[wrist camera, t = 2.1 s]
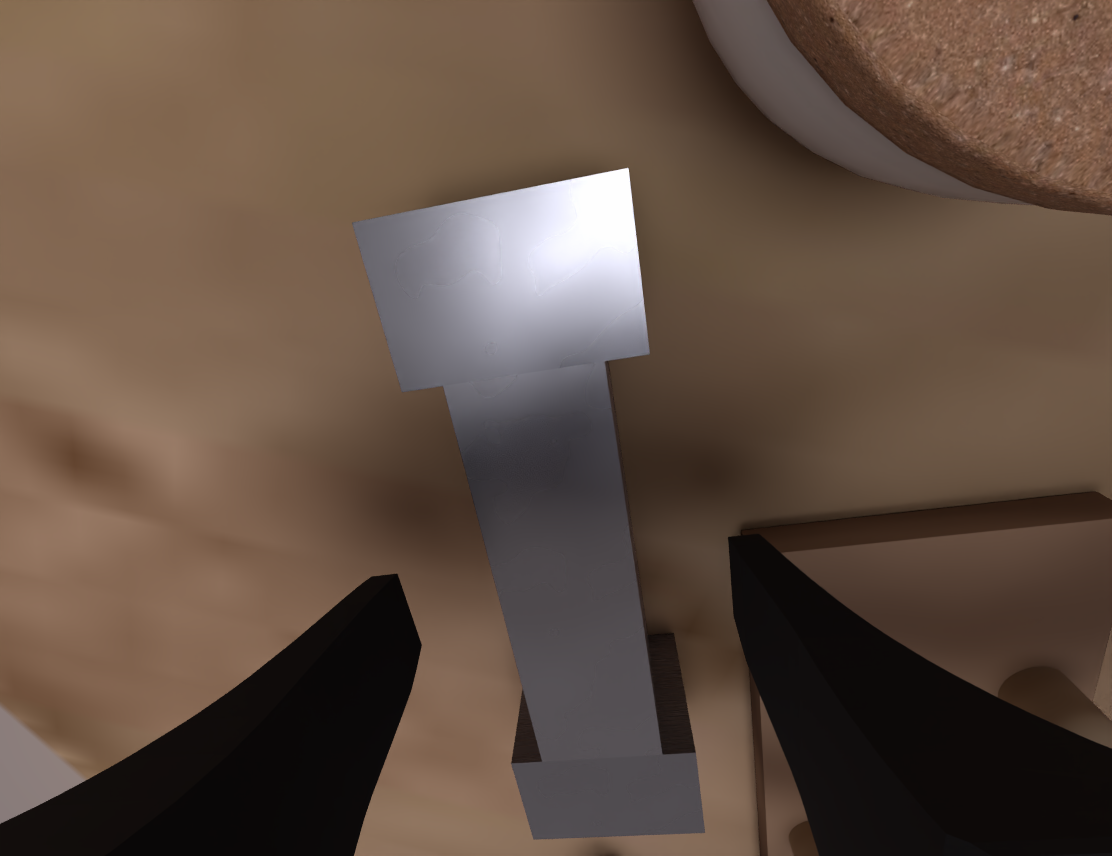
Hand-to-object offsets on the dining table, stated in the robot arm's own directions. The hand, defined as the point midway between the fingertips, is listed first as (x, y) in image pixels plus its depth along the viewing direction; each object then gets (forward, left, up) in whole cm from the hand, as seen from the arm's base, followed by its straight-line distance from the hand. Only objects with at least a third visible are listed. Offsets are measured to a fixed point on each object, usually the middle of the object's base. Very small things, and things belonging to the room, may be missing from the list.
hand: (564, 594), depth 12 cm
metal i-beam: (0, 0, -4) cm, 4 cm away
